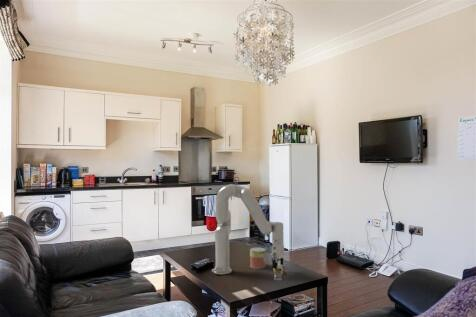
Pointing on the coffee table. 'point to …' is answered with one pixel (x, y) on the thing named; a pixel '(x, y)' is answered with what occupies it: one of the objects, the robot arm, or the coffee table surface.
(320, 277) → the coffee table surface
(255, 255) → the canned food
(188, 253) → the coffee table surface
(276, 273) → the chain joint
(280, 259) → the pin
